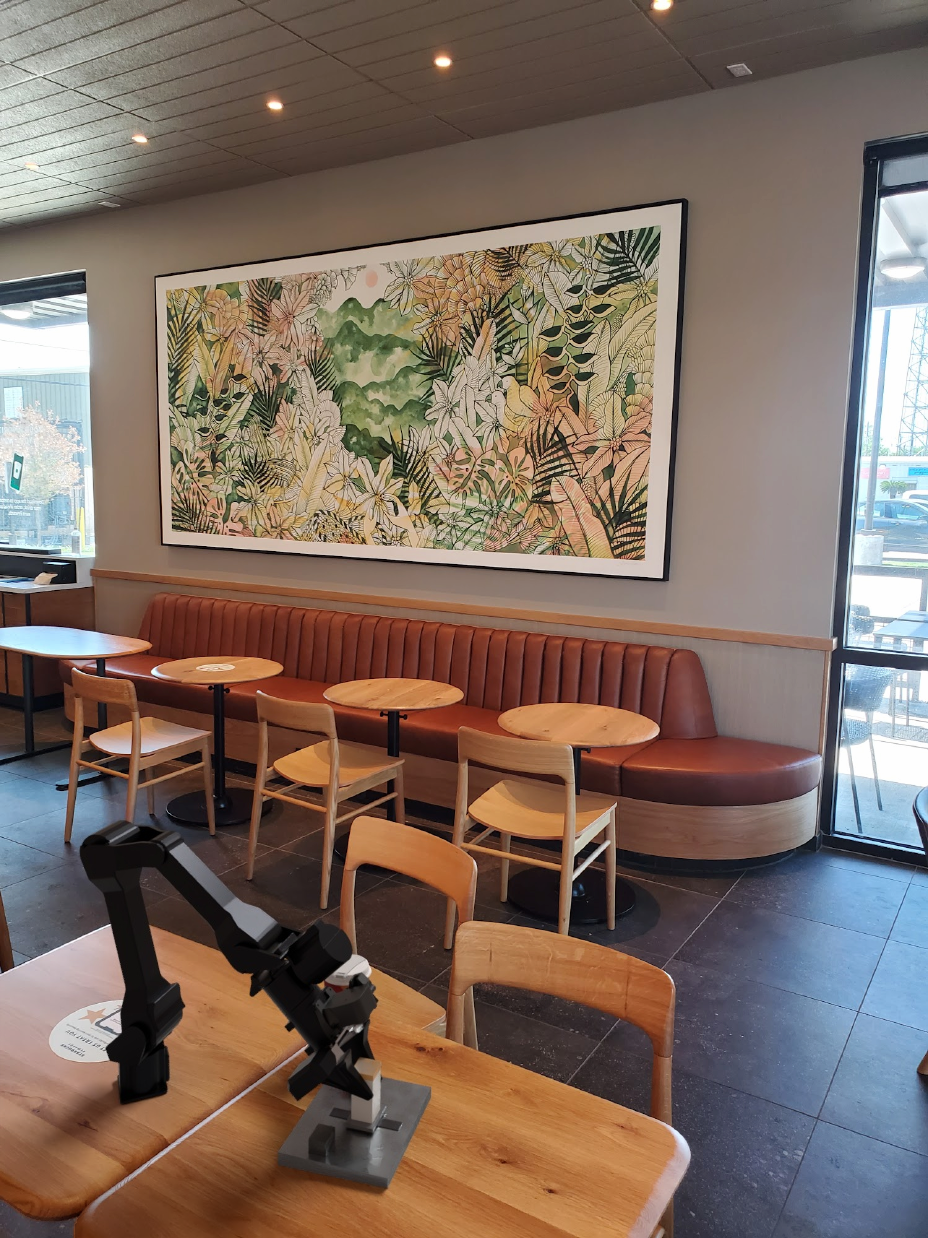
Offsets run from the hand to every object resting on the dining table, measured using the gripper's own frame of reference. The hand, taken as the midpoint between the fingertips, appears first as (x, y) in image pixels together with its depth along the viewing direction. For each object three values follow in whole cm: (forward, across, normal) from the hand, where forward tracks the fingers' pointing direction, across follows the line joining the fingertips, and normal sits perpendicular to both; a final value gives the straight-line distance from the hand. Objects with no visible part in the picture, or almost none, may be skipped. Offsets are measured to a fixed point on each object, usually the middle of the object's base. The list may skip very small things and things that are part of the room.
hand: (375, 1090), depth 118 cm
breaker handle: (+2, 0, +4) cm, 4 cm away
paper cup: (-3, +16, +12) cm, 21 cm away
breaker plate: (+3, 0, +6) cm, 7 cm away
